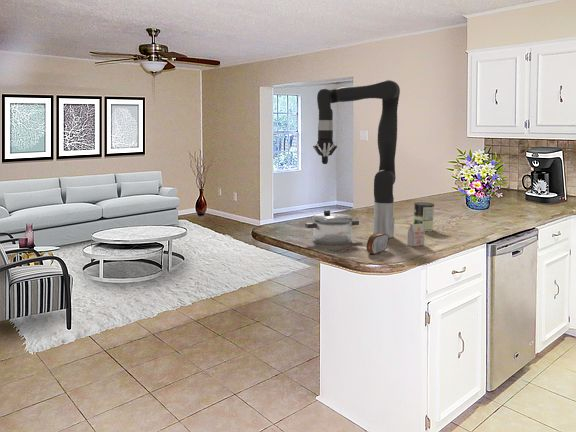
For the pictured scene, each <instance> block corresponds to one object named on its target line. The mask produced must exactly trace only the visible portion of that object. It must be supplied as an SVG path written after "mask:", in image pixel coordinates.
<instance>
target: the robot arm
mask: <svg viewBox="0 0 576 432" xmlns="http://www.w3.org/2000/svg"><path fill="white" fill-rule="evenodd" d="M400 94H401V88H400V86H399V84H398V83H397V82H395V81H393V80H389V79H387V80H384V81H380V82H376V83H373V84H366V85H356V86H355V85H354V86H352V85H351V86H343V87H342V86H341V87H339V88H320V90H319V91H318V93H317V96H316V100H317V102H316V103H317V110H318V123H317V142H316V144H315V145H313V146H312V147H313V149H314V151H315V152H316V153H317V155H318V156H321V163H322V165H327V164H328V163H329V156H332V155H333V153H334V152H335V151H336V149H337V148H338V146H337V145H335V144H334V141H333V140H334V139H333V137H334V135H333V134H334V122H333V116H334V113H333V112H334V111H333V109H332V107H331V106H332V105H331V104H335V103H340V102H341V103H346V102H354V101H361V100H365V99H367V100H368V99H380V100H381V103H382V104H381V107H382V109H381V115H380V119H379V123H378V126H377V127H378V128H377V148H378V153H379V167H378V171H377V172H376V173H375V175H374V179H373V199H374V202H373V203H374V205H373V207H374V208H373V210H374V211H373V227H372V228H373V229H372V230H373V231H372V234H376V233H380V232H382V233H386V234H387V235H388V239H390V238H393V237H394V235H395V217H394V202H395V201H394V199H395V198H394V194H393V193H394V184H395V182H396V163H395V161H396V159H395V158H396V152H397V140H398V107H399V100H400Z"/></svg>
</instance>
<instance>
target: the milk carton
mask: <svg viewBox="0 0 576 432" xmlns="http://www.w3.org/2000/svg"><path fill="white" fill-rule="evenodd" d="M425 235H426V232H424V227H423V224H410V226H409V230H408V232H407V243H406V245H407V246H408V245H410V246H409V247H411V246H416V247H420V246H419V245H424V246H425V237H426V236H425Z"/></svg>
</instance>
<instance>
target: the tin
mask: <svg viewBox="0 0 576 432" xmlns="http://www.w3.org/2000/svg"><path fill="white" fill-rule="evenodd" d="M388 245H389V238H388V235H387V234H386V233H382V232H380V233H376V234H373V233H372V234H371V235H370V236H369V237H368V239H367V242H366V252H367V253H368V254H372V255H377V254H380V253H382V251H383V252H385V251H384V250H387V247H388ZM379 252H380V253H379Z"/></svg>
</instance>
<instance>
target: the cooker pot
mask: <svg viewBox="0 0 576 432" xmlns="http://www.w3.org/2000/svg"><path fill="white" fill-rule="evenodd" d="M359 225H360V221H359V220H357V219H353V221H352V222H349V223H339V224H331V223H320V222H316V221H313V222H305V223H304V228H306V229H312V231H313V232H312V233H313V234H312V235H313V238H312V241H313V242H315V243H317V244H321V245H329V246H331V245H332V246H337V245H338V246H339V245H346V244H350V243H351V242H352V226H359Z"/></svg>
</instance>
